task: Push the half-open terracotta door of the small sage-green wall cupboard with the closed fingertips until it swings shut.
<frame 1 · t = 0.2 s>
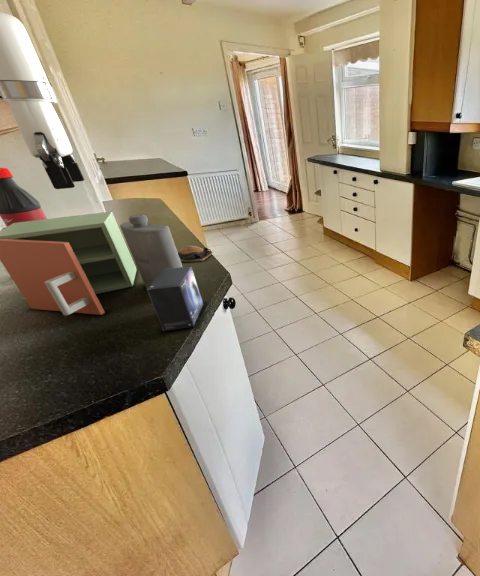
hand: (70, 184, 70), 28 cm above the countertop, tool pointing down, fingers open, 9 cm apart
small box: (185, 317, 73), on the countertop
door: (35, 283, 69), point 9 cm above the countertop, hinge at 40.0°
flask: (166, 289, 86), on the countertop
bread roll: (192, 257, 105), on the countertop
cupboard: (91, 286, 87), on the countertop
cola bottle: (56, 273, 95), on the countertop
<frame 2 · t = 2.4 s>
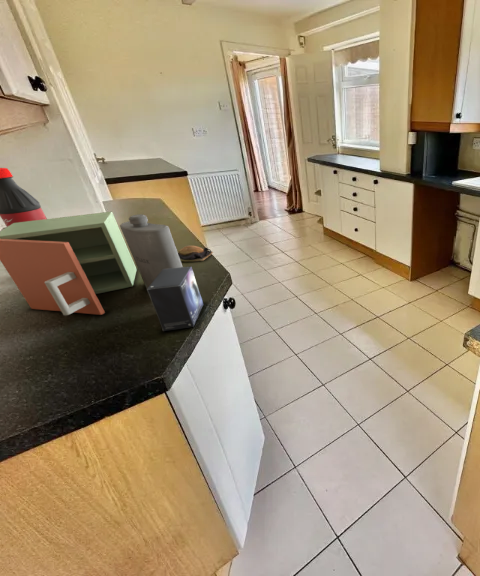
nothing on the countertop moved.
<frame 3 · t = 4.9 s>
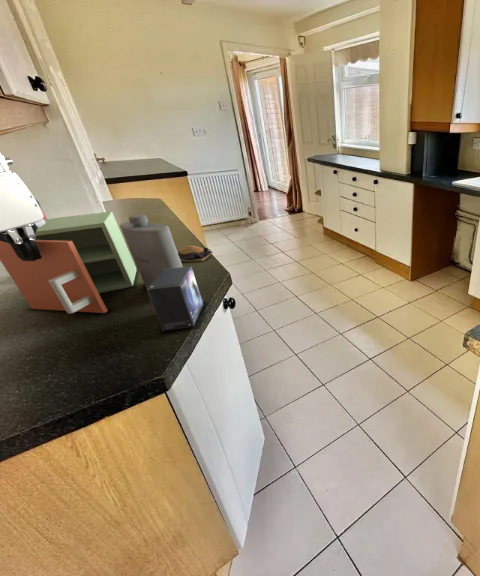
hand: (32, 259, 67), 15 cm above the countertop, tool pointing down, fingers closed
door: (38, 282, 70), point 9 cm above the countertop, hinge at 37.8°, touching gripper
everything else where it was.
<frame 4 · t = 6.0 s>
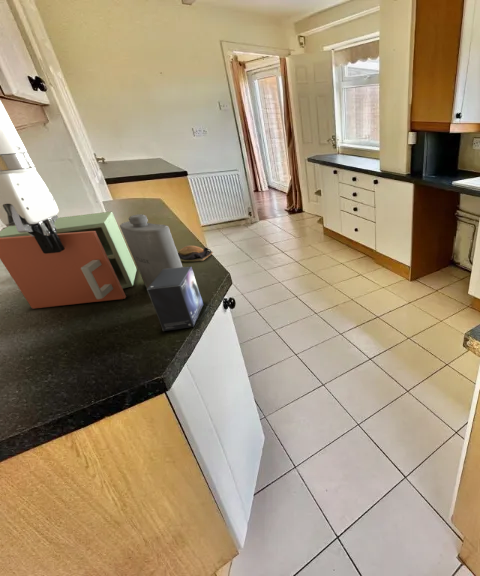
hand: (54, 251, 70), 15 cm above the countertop, tool pointing down, fingers closed
door: (55, 275, 73), point 9 cm above the countertop, hinge at 18.3°, touching gripper
everything else where it was.
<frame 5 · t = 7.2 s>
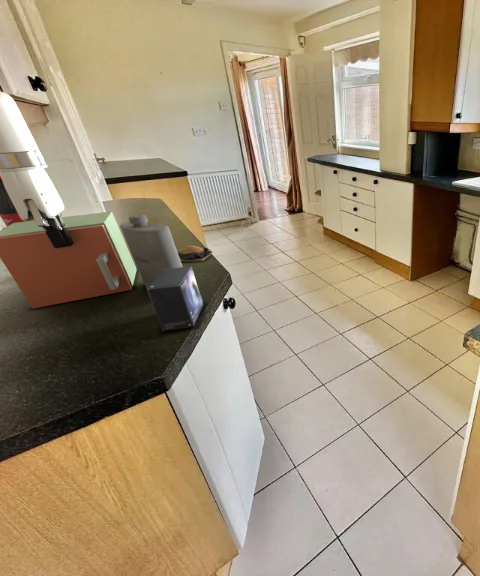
hand: (64, 246, 73), 15 cm above the countertop, tool pointing down, fingers closed
door: (64, 270, 75), point 9 cm above the countertop, hinge at 3.9°, touching gripper
everything else where it was.
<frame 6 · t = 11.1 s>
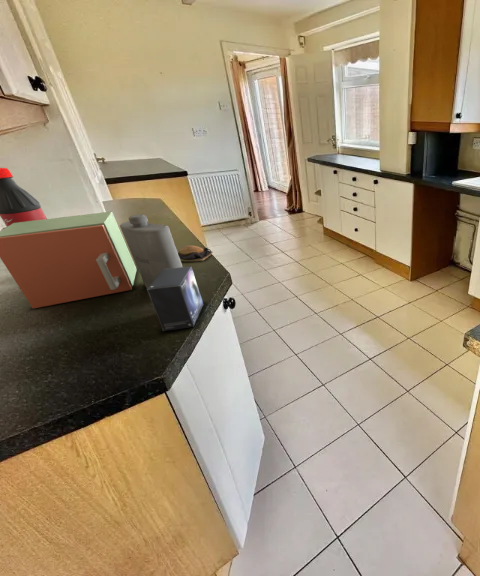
door: (64, 270, 75), point 9 cm above the countertop, hinge at 3.8°
everything else where it was.
at the end: door at +4° (first picture: +40°) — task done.
